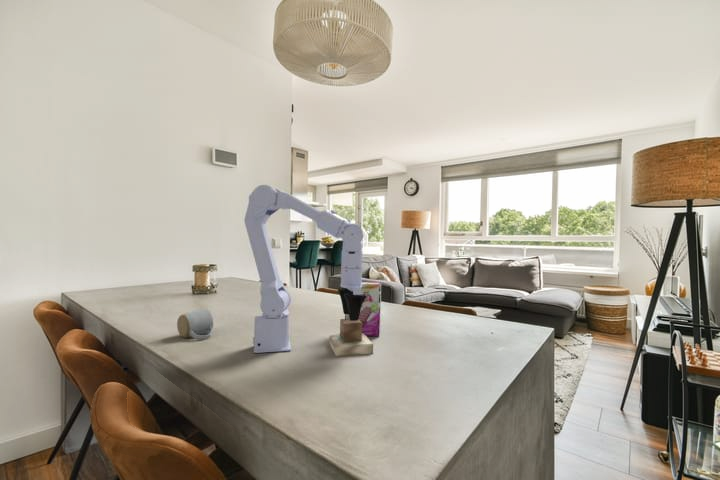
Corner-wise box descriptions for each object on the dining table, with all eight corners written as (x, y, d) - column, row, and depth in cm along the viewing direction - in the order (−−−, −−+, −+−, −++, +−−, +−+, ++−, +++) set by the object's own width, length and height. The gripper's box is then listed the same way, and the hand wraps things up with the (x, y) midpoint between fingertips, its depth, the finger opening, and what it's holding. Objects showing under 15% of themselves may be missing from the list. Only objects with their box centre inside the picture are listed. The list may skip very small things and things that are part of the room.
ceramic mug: (175, 336, 102) (175, 310, 102) (201, 330, 109) (201, 306, 109) (192, 343, 96) (193, 316, 96) (219, 337, 103) (220, 311, 103)
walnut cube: (343, 342, 90) (343, 323, 90) (340, 337, 95) (340, 319, 95) (361, 341, 91) (362, 322, 91) (357, 336, 96) (357, 318, 96)
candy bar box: (344, 335, 105) (344, 283, 105) (346, 331, 110) (347, 281, 110) (380, 337, 104) (380, 284, 104) (380, 332, 109) (381, 282, 109)
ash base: (335, 355, 87) (336, 345, 87) (329, 344, 97) (329, 335, 97) (373, 353, 89) (373, 343, 89) (363, 342, 99) (363, 333, 99)
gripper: (373, 270, 87) (372, 322, 87) (359, 265, 101) (358, 311, 101) (346, 270, 85) (345, 323, 85) (335, 265, 99) (335, 311, 99)
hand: (350, 317), depth 93 cm, fingers open, 7 cm apart
